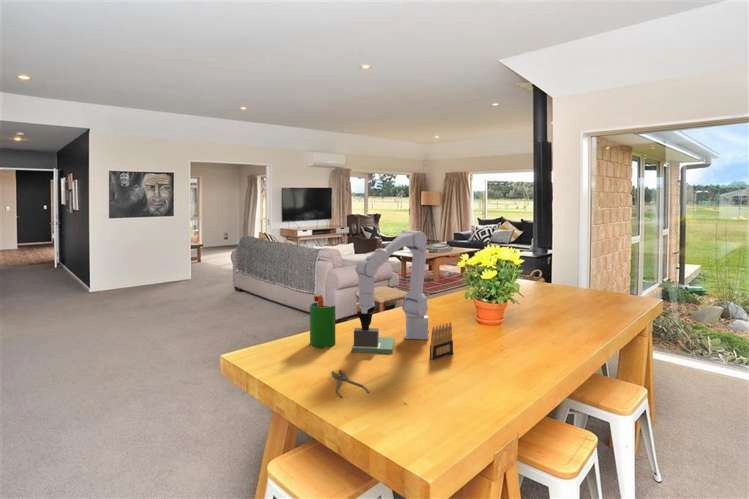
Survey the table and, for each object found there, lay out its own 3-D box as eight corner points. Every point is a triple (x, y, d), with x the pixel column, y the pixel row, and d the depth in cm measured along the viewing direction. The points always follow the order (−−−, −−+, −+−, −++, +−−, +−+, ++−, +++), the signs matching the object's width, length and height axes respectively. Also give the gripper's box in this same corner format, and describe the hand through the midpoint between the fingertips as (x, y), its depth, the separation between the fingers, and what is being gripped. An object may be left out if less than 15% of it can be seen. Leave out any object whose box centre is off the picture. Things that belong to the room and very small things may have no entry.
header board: (394, 341, 184) (394, 330, 183) (392, 353, 170) (392, 341, 169) (356, 340, 185) (356, 329, 185) (351, 351, 171) (351, 340, 171)
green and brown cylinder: (338, 341, 183) (338, 292, 181) (329, 349, 175) (328, 297, 172) (315, 339, 186) (315, 291, 184) (305, 346, 178) (304, 295, 175)
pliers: (344, 398, 132) (313, 375, 148) (344, 401, 132) (313, 377, 148) (372, 390, 137) (339, 369, 153) (372, 393, 137) (339, 371, 154)
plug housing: (378, 343, 176) (378, 328, 175) (377, 347, 172) (377, 331, 171) (355, 342, 177) (355, 327, 176) (353, 346, 173) (353, 330, 172)
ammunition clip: (433, 360, 163) (433, 327, 162) (429, 358, 165) (429, 326, 163) (453, 353, 170) (453, 322, 168) (449, 352, 171) (450, 320, 170)
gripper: (358, 287, 179) (358, 321, 181) (353, 296, 165) (353, 332, 166) (376, 288, 178) (376, 322, 180) (372, 296, 164) (372, 333, 166)
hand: (366, 327), depth 173 cm, fingers open, 7 cm apart
